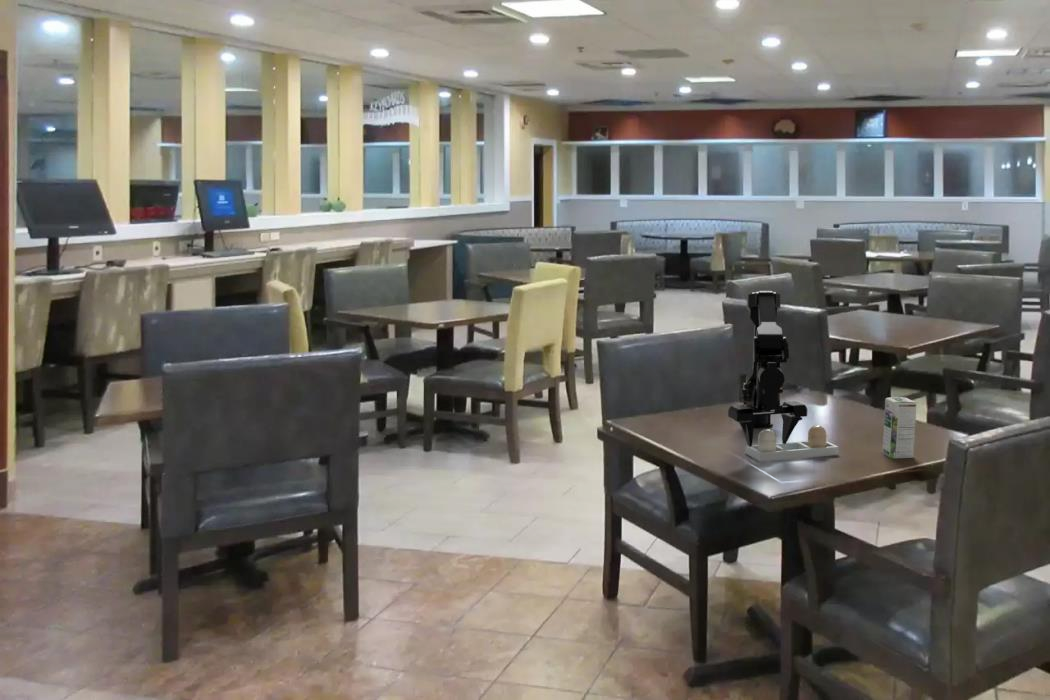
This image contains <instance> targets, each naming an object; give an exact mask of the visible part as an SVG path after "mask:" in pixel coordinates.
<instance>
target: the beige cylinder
mask: <svg viewBox="0 0 1050 700" xmlns="http://www.w3.org/2000/svg"><path fill="white" fill-rule="evenodd" d="M807 441H808V446H809V447H811V448H819V447H826V441H827V430H826V429H825V427H823V426H822V425H818V424H816V425H813V426H811V427H810V428H809V429H808V432H807Z"/></svg>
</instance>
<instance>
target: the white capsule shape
mask: <svg viewBox="0 0 1050 700" xmlns="http://www.w3.org/2000/svg"><path fill="white" fill-rule="evenodd" d="M776 443H777V434H776V433H775V431H774V430H772V429H768V428H765V429H762V430H760V432H759V433H758V436H757V445H758V451H760V452H770V451H776Z"/></svg>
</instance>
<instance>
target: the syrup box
mask: <svg viewBox="0 0 1050 700" xmlns="http://www.w3.org/2000/svg"><path fill="white" fill-rule="evenodd" d="M884 402H885V406H884V421H883V438H882V439H883V440H882V453H883V454H884V455H886V457H888V458H890V459H904V458H905V459H906V458H907V459H908V458H910V459H911V458H914V454H915V453H914V449H915V434H916V420H917V419H916V418H917V403H918V402H917V401H914V400H912V399H910V398H908V397H902V396H891V397H886V398H885V401H884Z"/></svg>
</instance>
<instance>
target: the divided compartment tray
mask: <svg viewBox="0 0 1050 700" xmlns="http://www.w3.org/2000/svg"><path fill="white" fill-rule="evenodd" d="M839 449H840V448H839V446H838V445H836V444H834V443H831V442H829V441H827V440H826V447H819V448H811V447H809V446H808V440H800V441H797V440H796V441H787V442H786V444H783V443H782V442H776V451H770V452H760V451H758V444H752V446H751V447H749V446H748V445H746V446H745V454H746V455H747V456H749V457H751V458H753V459H754V460H756V461H758V462H769V461H781V460H793V459H794V460H795V459H804V458H816V457H828V456H831V457H832V456H838V455H839Z"/></svg>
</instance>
